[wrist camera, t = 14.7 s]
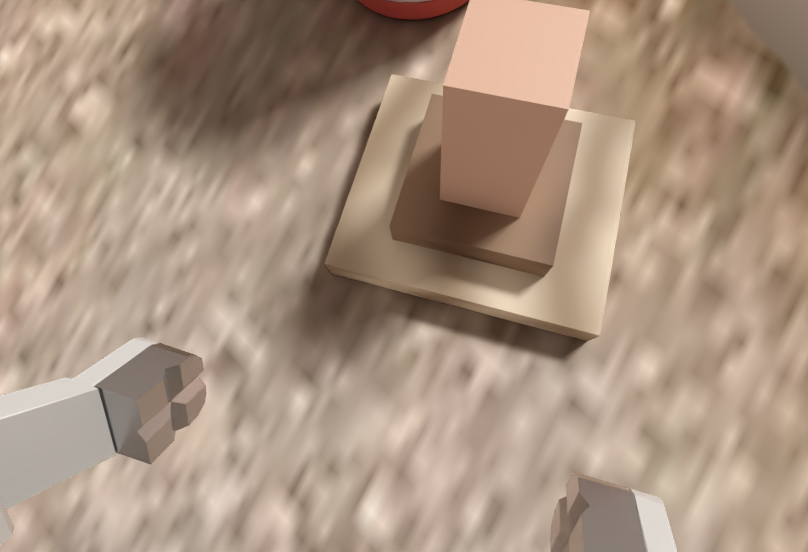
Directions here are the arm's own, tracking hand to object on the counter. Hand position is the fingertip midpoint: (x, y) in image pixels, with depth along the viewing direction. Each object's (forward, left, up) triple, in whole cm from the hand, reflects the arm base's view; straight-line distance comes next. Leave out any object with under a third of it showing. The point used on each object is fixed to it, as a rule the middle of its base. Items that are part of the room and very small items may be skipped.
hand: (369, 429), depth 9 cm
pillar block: (-1, -14, -12) cm, 19 cm away
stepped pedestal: (-1, -14, -16) cm, 22 cm away
